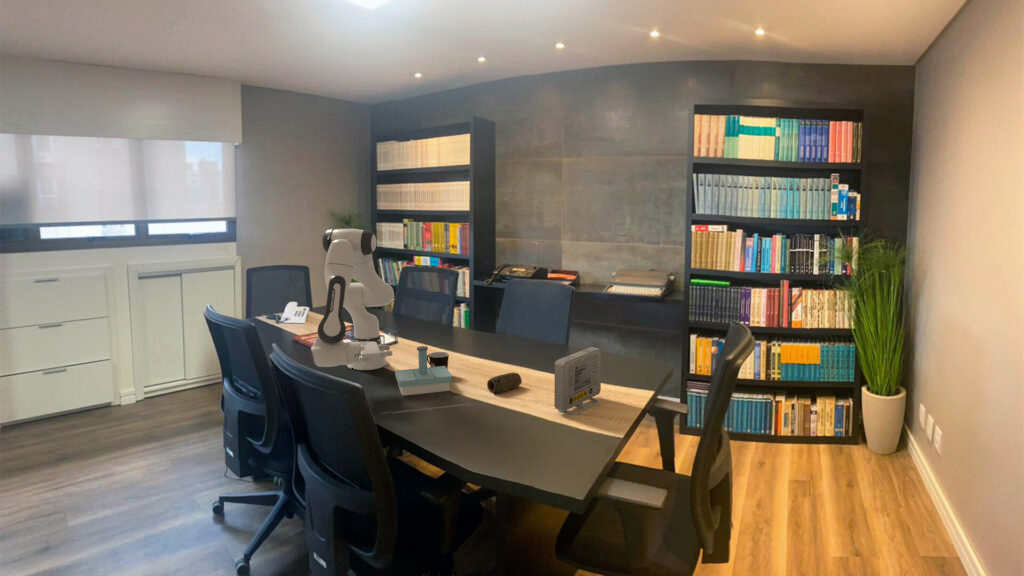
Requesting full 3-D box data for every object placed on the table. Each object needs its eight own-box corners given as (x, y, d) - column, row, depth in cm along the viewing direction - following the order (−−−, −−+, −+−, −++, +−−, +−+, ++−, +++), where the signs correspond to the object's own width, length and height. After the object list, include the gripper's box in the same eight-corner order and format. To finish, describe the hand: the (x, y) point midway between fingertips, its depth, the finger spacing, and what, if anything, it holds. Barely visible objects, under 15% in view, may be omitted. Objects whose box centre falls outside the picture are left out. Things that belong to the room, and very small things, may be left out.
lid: (395, 375, 252) (393, 345, 250) (445, 371, 258) (444, 340, 256) (399, 387, 238) (398, 354, 235) (452, 381, 244) (451, 349, 242)
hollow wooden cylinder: (498, 396, 239) (498, 380, 238) (485, 393, 244) (485, 377, 243) (523, 387, 250) (523, 371, 249) (510, 383, 255) (510, 368, 254)
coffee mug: (451, 378, 262) (451, 355, 261) (432, 380, 259) (431, 358, 258) (444, 371, 273) (443, 349, 271) (425, 373, 270) (424, 351, 268)
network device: (587, 394, 241) (587, 345, 237) (606, 399, 235) (607, 348, 232) (549, 413, 221) (549, 359, 218) (569, 418, 216) (569, 364, 212)
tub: (398, 386, 252) (397, 372, 251) (443, 382, 257) (443, 368, 256) (402, 397, 240) (401, 382, 239) (449, 391, 245) (449, 377, 244)
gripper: (355, 351, 227) (393, 348, 231) (353, 339, 247) (387, 337, 251) (356, 367, 228) (394, 364, 232) (353, 354, 248) (388, 352, 252)
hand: (390, 350), depth 242 cm, fingers open, 8 cm apart
